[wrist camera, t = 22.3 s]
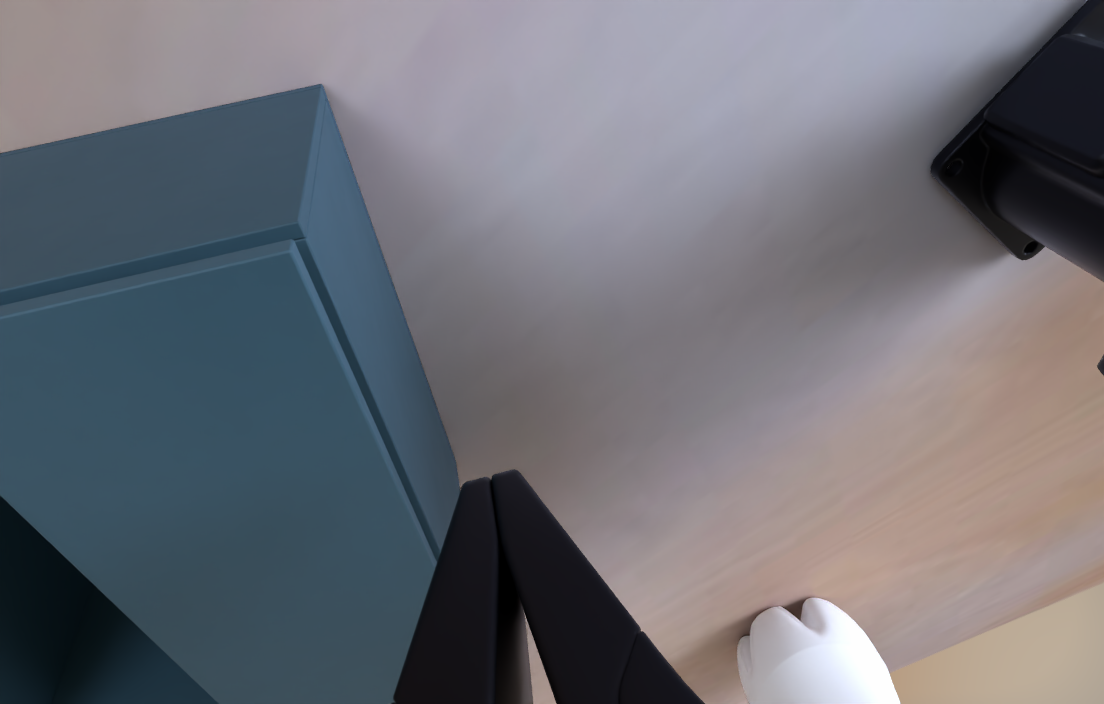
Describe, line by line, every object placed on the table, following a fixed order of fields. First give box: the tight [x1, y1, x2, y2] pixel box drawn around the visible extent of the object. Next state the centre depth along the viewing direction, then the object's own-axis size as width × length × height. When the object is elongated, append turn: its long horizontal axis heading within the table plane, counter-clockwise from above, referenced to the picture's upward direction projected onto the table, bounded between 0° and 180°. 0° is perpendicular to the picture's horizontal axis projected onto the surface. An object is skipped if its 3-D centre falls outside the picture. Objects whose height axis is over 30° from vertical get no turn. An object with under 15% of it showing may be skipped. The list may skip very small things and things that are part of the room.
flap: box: [0, 239, 437, 704], centre depth 14 cm, size 6×14×1 cm, turn 9°
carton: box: [0, 84, 460, 704], centre depth 17 cm, size 13×14×7 cm
